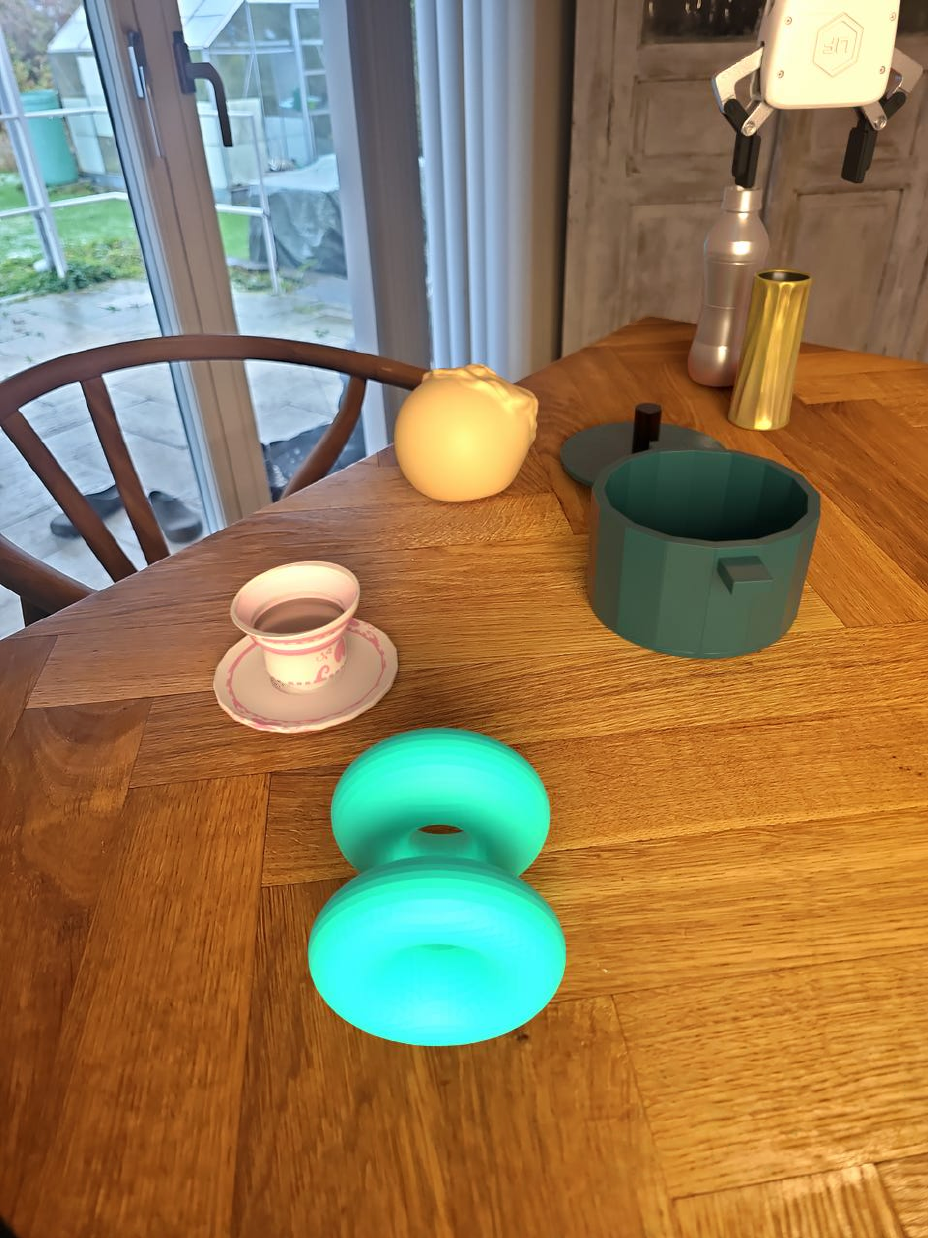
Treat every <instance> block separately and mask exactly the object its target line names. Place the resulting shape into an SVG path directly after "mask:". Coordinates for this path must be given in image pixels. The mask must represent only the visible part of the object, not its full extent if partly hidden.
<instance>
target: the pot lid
mask: <svg viewBox="0 0 928 1238" xmlns="http://www.w3.org/2000/svg"><path fill="white" fill-rule="evenodd" d="M633 417H634V419H633V421H621V422H619V421H618V422H612V423H605V424H600V425H596V426H592V427H589V428H586V429H584V430H581V431H579V432H577V433H574V434H573V435H571V436H570V437H569V438H568V439H567V440H565V442H564V443H563V444H562V445H561V448H560V451H559V462H560V465H561V467H562V469H563V470H564V472H565V473H566V474H567V475H568V476H569V477H570V478H572V479H573V480H575V481H576V482H578V483H579V484H581V485H583V486H586V487H588V488H591V489H592V487H593V485H594V483H595V481H596V479H597V477H598V475H599V472H600V471H601V470H602V469H603V468H605V467H607V466H608V465H610V464H612V463H613V462H615V461H616V460H618V459H620V458H621V457H623V456H627V455H631V454H634V453H638V452H642V451H646V450H649V443H650V442H659V441H677V440H679V441H680V442H681V443H682V444H683V446H701V447H711V448H721V449H727V448H726V447H725V445H723V444H722V443H721V442H720V441H719V440H717V439H715V438H713V437H712V436H710V435H708V434H706V433H704V432H700V431H698V430H696V429H692V428H690V427H685V426H682V425H676V424H670V423H666V422H665V423H663V422H662V417H663V407H662V406H661V405H660V404H658V403H653V402H642V403H639V404H638V403H637V405H635V407H634V416H633Z"/></svg>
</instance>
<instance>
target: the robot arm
mask: <svg viewBox="0 0 928 1238" xmlns="http://www.w3.org/2000/svg"><path fill="white" fill-rule="evenodd" d="M900 3H901V0H766V2H765V6H764V10H763V14H762V17H761V21H760V26H759V31H758V36H757V40H756V45H755V48H753V49H752V50H750V51H749V52H747V53H745V54H744V55H742V56H741V57H739V58H737V59H736V60H734V61H732V62H731V63H729V64H728V65H726V66H724V67H723V68H721V69H719V70H718V71H716V72H715V73H713V74H712V76H711V80H710V83H711V86H712V89H713V92H714V95H715V98H716V101H717V102H718V109H719V110H718V111H720V113H721V114H722V116H723V117H724V118H725V120H726V121H727V122H728V124H729V125H730V126H731V129H732V132H734V133H735V141H734V148H733V154H732V155H733V156H732V162H731V176H732V177H733V178H734V184H735V186H737V185H738V186H740V187H742V188H744V189H748V188H752V187H753V186H755V184H756V177H757V170H758V164H759V157H760V150H761V143H762V137H761V136H760V135H758V129H759V128H760V127H761V126H762V124H763V123H764V122H765V121H766V119H767V118H768V117H769V116H770V115H771V114H772V113H773V111H774V110H775V109H779V110H808V109H809V110H810V109H833V108H850V110H851V113H852V115H853V116H854V118H855V121H856V122H857V123H856V126H853V127H851V129H850V130H849V133H848V138H847V143H846V148H845V153H844V157H843V162H842V168H841V173H840V178H841V179H843V180H844V181H847V182H850V183H853V184H863V183H864V181H865V178H866V173H867V172H868V171H869V170H870V168H871V165H872V162H873V156H874V151H875V147H876V143H877V138H878V134H879V131H882V130H883V129H884V128H885V127H886V125H887V122H888V121H889V120H890V119H891V118H892V117H893V116H894V115H895V114H896V113H897V112H898V111H899V110H900V109H901V108H902V107H903V106H904V105H905V104H906V101H907V97H908V95H910V93H912V91H913V89H914V88H915V86H916V84H917V83H918V81H919V80H920V78H921V77H922V76H923V74H924V67H923V66H922V65H921V64H920V63H918V62H917V61H916V60H914V59H912V58H911V57H910V56H908V54H905V53H904V52H903V51H901V50H899V48H897V47H895V44H896V42H895V41H896V36H897V30H898V23H899V22H898V21H899V15H900ZM890 73H892V74H893V75H894V81H893V83H892V84H891V87H890V89H889V90H888V91H887V92H886V93H885V91H886V89H887V86H888V82H889V78H890V77H889V76H890ZM748 75H750V81H749V97H750V100H749V101H748V102H747V103H746V105H745V106H744V107H743V106H742V104H741V103H740V101H739V100H738V99H737V96H736V90H735V87H736V86H735V85H736V84H737V83H738V82H739V81H740V80H742V79H743V78H745V77H747V76H748Z"/></svg>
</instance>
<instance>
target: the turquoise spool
mask: <svg viewBox="0 0 928 1238" xmlns="http://www.w3.org/2000/svg"><path fill="white" fill-rule="evenodd" d="M549 799H550V798H549V794H548V791H547V789H546V786H545V784H544V783H543V780H542V778H541V777H540V775H539V773H538V772H537V771H536V769H535V768H534V767H533V765H531V763H530V762H528V760H527V759H525V757H523V755H521V754H520V753H519V752H518V751H516V750H515V749H514V748H513V747H510V746H509V745H508V744H506V743H505V742H502V741H500V740H498V739H496V738H494V737H491V736H489V735H486V734H484V733H480V732H476V731H472V730H467V729H462V728H454V727H425V728H419V729H413V730H408V731H404V732H399V733H397V734H394V735H391V736H389V737H386V738H383V739H382V740H380V741H378V742H376V743H374V744H373V745H371V746H369V747H368V748H367V749H365V750H363V752H361V753H360V754H359V755H358V756H357V757H356V758H355V759H354V760H352V762H351V763H349V765H348V766H347V767H346V769H345V770H344V772H343V773H342V774H341V776H340V778H339V780H338V782H337V784H336V786H335V788H334V791H333V795H332V800H331V805H330V821H331V829H332V834H333V836H334V839H335V841H336V844H337V846H338V848H339V851H340V852H341V854H342V855H343V857H344V858H345V859H346V861H347V862H348V863H349V864H350V865H351V866H352V867H353V869H354V870H356V872H357V873H358V875H356V876H355V877H353V878H352V879H350V880H349V881H348V882H346V883H345V884H343V885H342V886H340V888H339V889H338V890H336V891H335V892H334V893H333V894H332V895H331V896H330V897H329V899H328V900H327V901H326V902H325V904H324V905H323V907H322V908H321V909H320V911H319V912H318V914H317V916H316V918H315V921H314V923H313V925H312V927H311V931H310V933H309V940H308V946H307V958H308V960H307V961H308V967H309V973H310V976H311V978H312V981H313V983H314V985H315V988H316V990H317V992H318V993H319V995H320V996H321V998H322V999H323V1000H324V1002H325V1003H326V1004H327V1005H328V1006H329V1007H330V1008H331V1009H332V1010H333V1011H334V1012H335V1013H336V1014H337V1015H338V1016H339V1017H341V1018H342V1019H343V1020H345V1021H346V1022H348V1023H349V1024H350V1025H352V1026H354V1027H355V1028H358V1029H359V1030H362V1031H364V1032H366V1033H368V1034H371V1035H373V1036H376V1037H379V1038H383V1039H385V1040H389V1041H393V1042H398V1043H403V1044H406V1045H414V1046H427V1047H429V1046H431V1047H442V1046H443V1047H444V1046H445V1047H446V1046H460V1045H468V1044H469V1045H470V1044H474V1043H478V1042H483V1041H487V1040H490V1039H495V1038H496V1037H497V1038H498V1037H500V1036H503V1035H505V1034H508V1033H509V1032H512V1031H514V1030H515V1029H518V1028H519V1027H521V1026H523V1025H524V1024H526V1023H528V1022H529V1021H530V1020H532V1019H533V1018H534V1017H535V1016H536V1015H538V1013H540V1012H541V1011H542V1010H543V1009H544V1008H546V1006H547V1005H548V1004H549V1003H550V1001H551V1000H552V999H553V997H554V995H555V994H556V992H557V991H558V988H559V986H560V984H561V982H562V980H563V977H564V973H565V969H566V961H567V947H566V946H567V945H566V938H565V934H564V931H563V928H562V926H561V923H560V920H559V919H558V917H557V914H556V913H555V911H554V910H553V908H552V907H551V905H550V903H548V901H547V900H546V899H545V897H543V895H542V894H541V893H539V891H537V890H536V889H535V888H534V887H533V886H531V885H530V884H529V883H527V881H525V880H524V879H522V878H521V877H520V876H521V875H522V874H523V873H524V872H526V871H527V869H528V868H529V867H531V866H532V864H534V862H535V860H536V859H537V858H538V856H539V855H540V853H541V851H542V849H543V847H544V845H545V843H546V840H547V838H548V835H549V831H550V824H551V805H550V800H549ZM428 826H449V827H450V826H451V827H455V828H457V829H460V830H461V831H459V832H453V833H430V832H425V831H421V830H419V829H422V828H425V827H428Z"/></svg>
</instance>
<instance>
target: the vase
mask: <svg viewBox="0 0 928 1238" xmlns="http://www.w3.org/2000/svg"><path fill="white" fill-rule="evenodd" d="M812 282H813V274H811V273H810V272H808V271H805V270H801V269H795V268H787V267H786V268H785V267H784V268H783V267H782V268H780V267H777V268H776V267H773V268H771V267H770V268H763V270H760V271H758V272H756V273H755V274H754V278H753V284H752V291H751V298H750V304H749V310H748V316H747V323H746V329H745V335H744V340H743V345H742V350H741V354H740V359H739V364H738V369H737V373H736V378H735V383H734V385H733V389H732V393H731V399H730V405H729V408H728V412H727V415H726V417H727V421H729V422H730V423H731V424H732V425H734V426H736V427H738V428H740V429H744V430H748V431H754V432H772V431H778V430H781V429H783V428H785V427H787V426H788V425H789V423H790V419H791V418H790V416H791V415H790V414H791V407H792V402H793V396H794V388H795V381H796V374H797V367H798V360H799V354H800V350H801V349H800V348H801V343H802V337H803V332H804V327H805V320H806V315H807V311H808V306H809V305H808V303H809V298H810V291H811V287H812Z"/></svg>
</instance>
